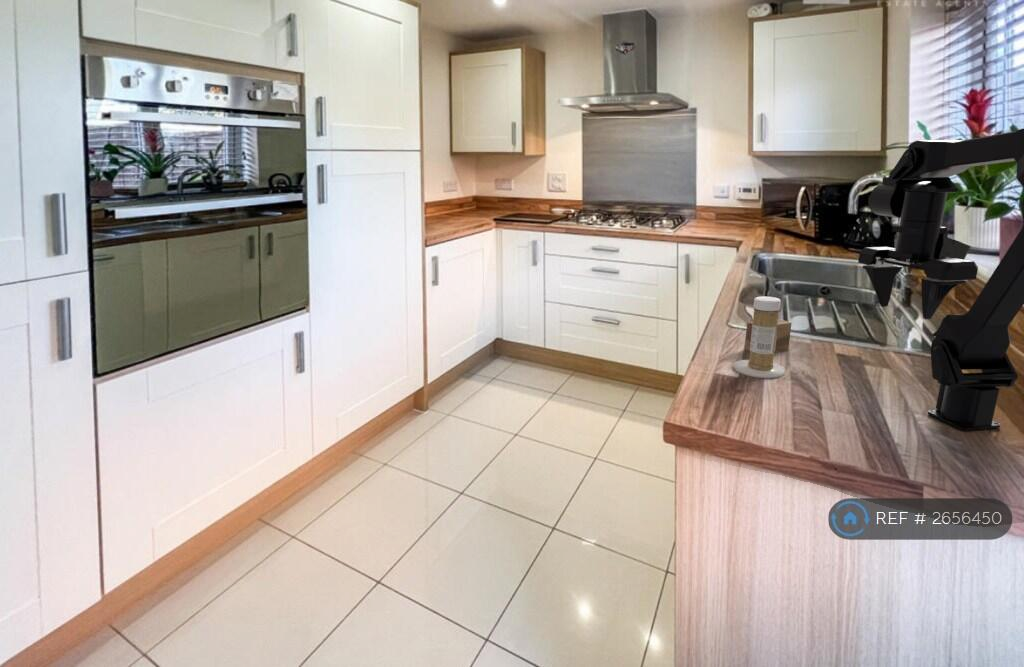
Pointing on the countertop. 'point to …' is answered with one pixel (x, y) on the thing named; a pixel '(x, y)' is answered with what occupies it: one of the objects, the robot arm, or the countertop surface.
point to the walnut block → (781, 335)
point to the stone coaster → (746, 370)
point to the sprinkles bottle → (764, 332)
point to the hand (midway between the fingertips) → (904, 312)
